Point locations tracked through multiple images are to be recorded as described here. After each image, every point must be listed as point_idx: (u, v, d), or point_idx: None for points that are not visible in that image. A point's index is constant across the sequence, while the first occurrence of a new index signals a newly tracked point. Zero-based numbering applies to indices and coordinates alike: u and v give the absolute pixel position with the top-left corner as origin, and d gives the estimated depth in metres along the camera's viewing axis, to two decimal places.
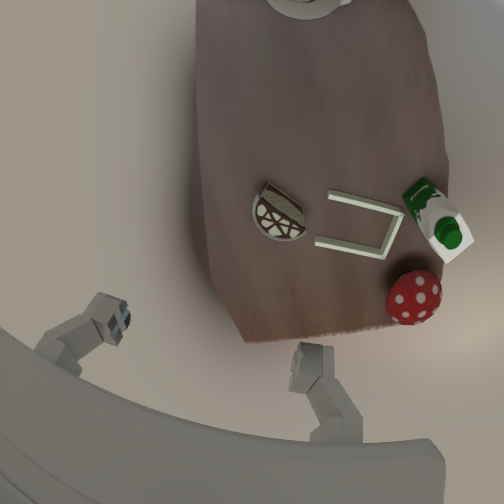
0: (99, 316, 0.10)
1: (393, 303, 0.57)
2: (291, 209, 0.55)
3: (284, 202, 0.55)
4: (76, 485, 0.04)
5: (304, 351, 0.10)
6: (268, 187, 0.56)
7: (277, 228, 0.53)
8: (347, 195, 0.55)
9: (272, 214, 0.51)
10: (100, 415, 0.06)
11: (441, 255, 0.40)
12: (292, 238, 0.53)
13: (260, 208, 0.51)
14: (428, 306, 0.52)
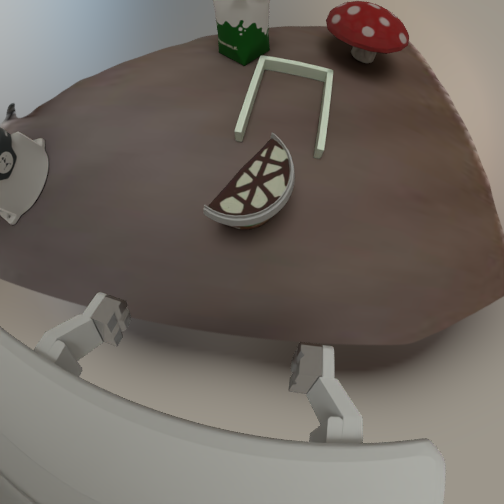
0: (99, 316, 0.10)
1: (378, 38, 0.30)
2: None
3: None
4: (76, 485, 0.04)
5: (304, 351, 0.10)
6: None
7: (269, 180, 0.29)
8: None
9: (240, 187, 0.28)
10: (100, 415, 0.06)
11: None
12: (287, 155, 0.28)
13: (227, 207, 0.28)
14: (361, 2, 0.28)
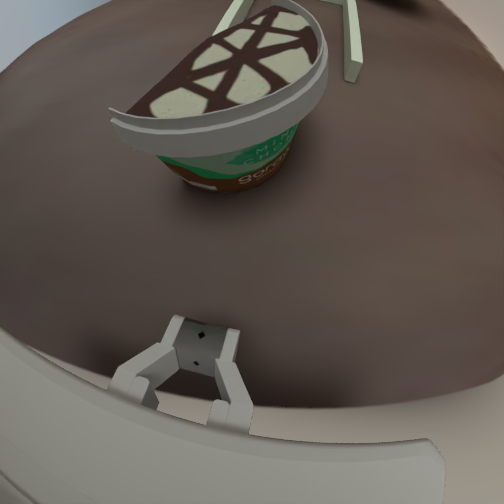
0: (183, 344, 0.10)
1: None
2: None
3: None
4: (76, 485, 0.04)
5: (206, 332, 0.11)
6: None
7: (273, 55, 0.10)
8: None
9: (201, 68, 0.10)
10: (100, 415, 0.06)
11: None
12: (308, 20, 0.10)
13: (167, 109, 0.09)
14: None
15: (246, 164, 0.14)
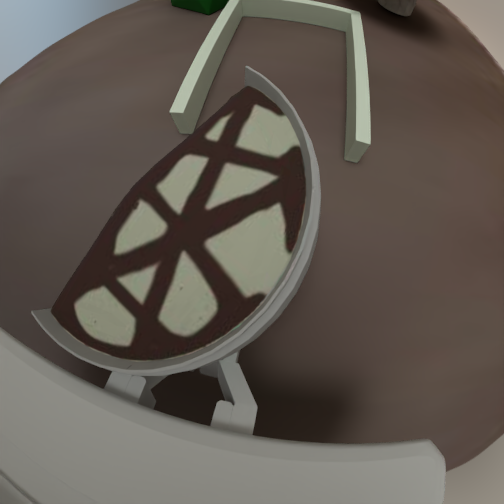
0: None
1: None
2: None
3: None
4: (76, 485, 0.04)
5: None
6: None
7: (228, 229, 0.08)
8: None
9: (126, 253, 0.08)
10: (100, 415, 0.06)
11: None
12: (298, 135, 0.08)
13: (93, 320, 0.08)
14: None
15: None
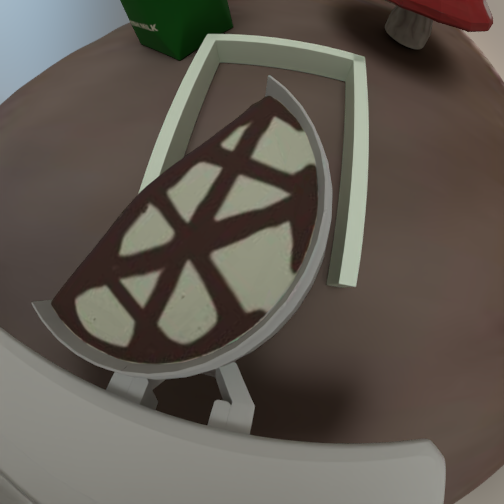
0: None
1: None
2: None
3: None
4: (76, 485, 0.04)
5: None
6: None
7: (235, 243, 0.08)
8: None
9: (131, 256, 0.08)
10: (100, 415, 0.06)
11: None
12: (315, 153, 0.08)
13: (93, 318, 0.08)
14: None
15: None
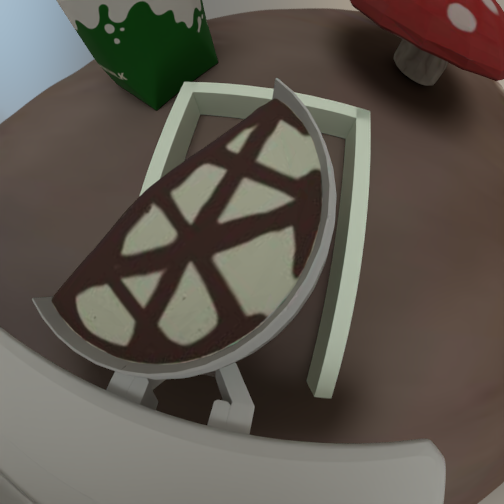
0: None
1: (485, 40, 0.07)
2: None
3: None
4: (76, 485, 0.04)
5: None
6: None
7: (238, 246, 0.08)
8: None
9: (133, 256, 0.08)
10: (100, 415, 0.06)
11: None
12: (320, 158, 0.08)
13: (93, 316, 0.08)
14: None
15: None
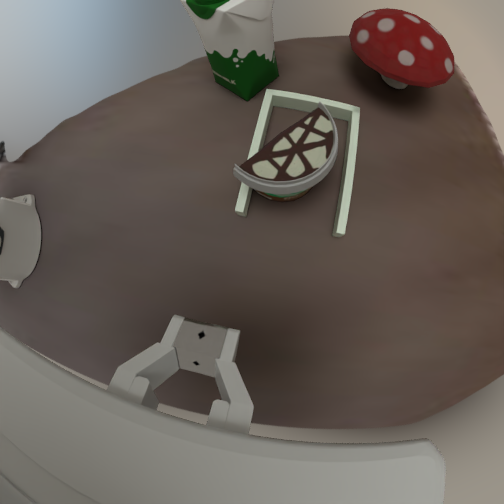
0: (183, 343, 0.10)
1: (419, 68, 0.22)
2: None
3: None
4: (76, 485, 0.04)
5: (206, 332, 0.11)
6: None
7: (310, 150, 0.25)
8: None
9: (277, 151, 0.25)
10: (100, 415, 0.06)
11: None
12: (333, 127, 0.24)
13: (260, 170, 0.25)
14: (395, 12, 0.20)
15: (289, 194, 0.29)
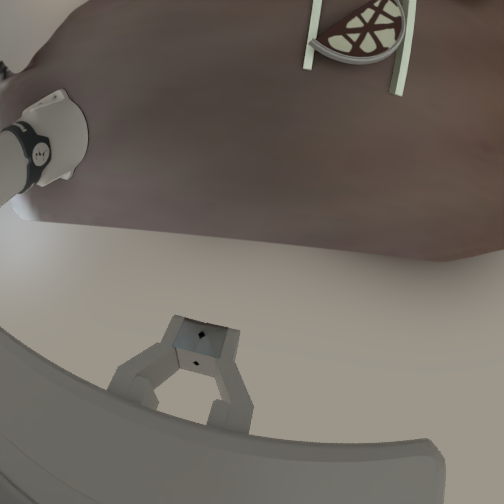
0: (183, 343, 0.10)
1: None
2: None
3: None
4: (76, 485, 0.04)
5: (206, 332, 0.11)
6: None
7: (380, 30, 0.17)
8: None
9: (350, 28, 0.18)
10: (100, 415, 0.06)
11: None
12: (401, 13, 0.15)
13: (336, 44, 0.20)
14: None
15: None
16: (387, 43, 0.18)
